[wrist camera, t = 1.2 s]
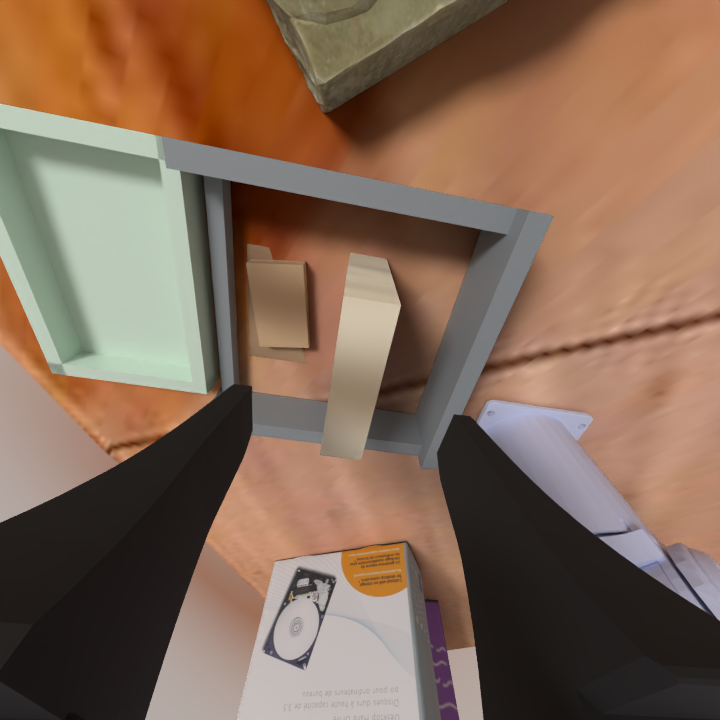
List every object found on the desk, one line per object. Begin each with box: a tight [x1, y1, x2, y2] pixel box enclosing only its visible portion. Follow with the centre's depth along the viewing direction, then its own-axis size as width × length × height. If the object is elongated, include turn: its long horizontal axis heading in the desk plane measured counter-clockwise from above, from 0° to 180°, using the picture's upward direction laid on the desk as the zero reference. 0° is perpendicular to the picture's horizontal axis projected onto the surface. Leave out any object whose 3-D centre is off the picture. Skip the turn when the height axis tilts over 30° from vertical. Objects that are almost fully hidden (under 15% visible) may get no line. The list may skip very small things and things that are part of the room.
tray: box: [0, 104, 220, 394], centre depth 16 cm, size 13×9×2 cm
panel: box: [320, 252, 401, 460], centre depth 15 cm, size 8×2×7 cm, turn 170°
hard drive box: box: [237, 543, 441, 720], centre depth 25 cm, size 16×8×20 cm, turn 108°
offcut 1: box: [247, 244, 307, 364], centre depth 18 cm, size 7×4×1 cm, turn 170°
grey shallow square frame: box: [162, 137, 554, 470], centre depth 16 cm, size 15×15×4 cm
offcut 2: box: [246, 259, 311, 348], centre depth 17 cm, size 5×3×1 cm, turn 178°
